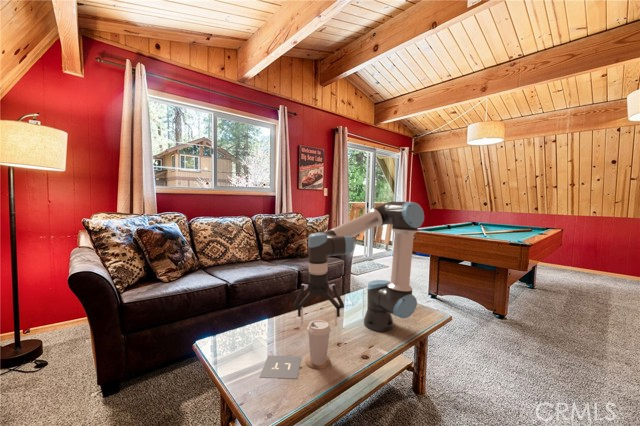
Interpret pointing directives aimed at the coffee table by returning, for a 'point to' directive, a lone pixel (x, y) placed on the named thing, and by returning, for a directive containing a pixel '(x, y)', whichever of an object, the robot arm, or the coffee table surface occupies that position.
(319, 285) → the robot arm
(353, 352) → the coffee table surface
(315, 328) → the coffee cup
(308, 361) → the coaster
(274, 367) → the tile
